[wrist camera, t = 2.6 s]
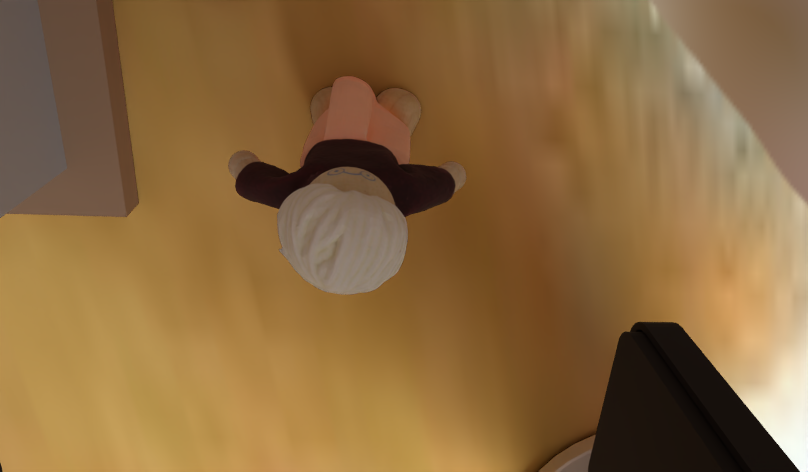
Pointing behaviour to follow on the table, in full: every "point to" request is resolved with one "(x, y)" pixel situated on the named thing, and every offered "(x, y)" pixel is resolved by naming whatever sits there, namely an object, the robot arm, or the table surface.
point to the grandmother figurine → (349, 187)
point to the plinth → (63, 111)
